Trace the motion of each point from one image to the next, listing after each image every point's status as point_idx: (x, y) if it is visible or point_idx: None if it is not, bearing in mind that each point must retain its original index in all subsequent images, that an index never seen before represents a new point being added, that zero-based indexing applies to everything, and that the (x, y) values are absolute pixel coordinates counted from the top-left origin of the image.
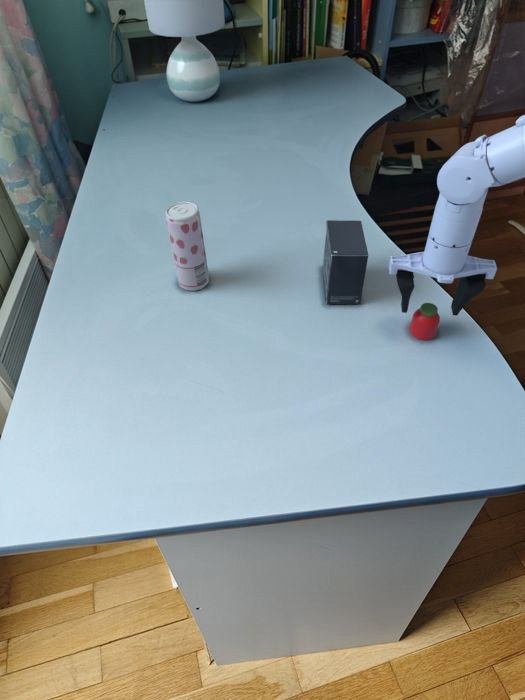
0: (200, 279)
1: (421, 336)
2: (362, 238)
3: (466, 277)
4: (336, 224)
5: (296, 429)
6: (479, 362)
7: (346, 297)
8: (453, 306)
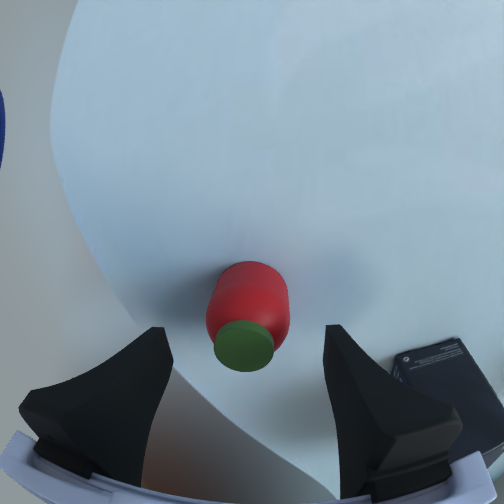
0: None
1: (257, 268)
2: None
3: (98, 464)
4: None
5: (490, 7)
6: (109, 203)
7: (433, 360)
8: (162, 357)
